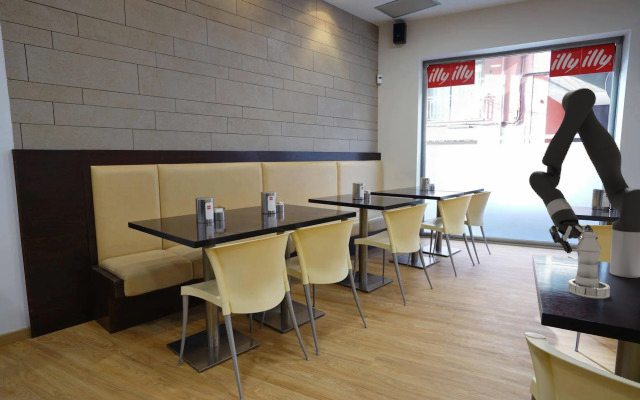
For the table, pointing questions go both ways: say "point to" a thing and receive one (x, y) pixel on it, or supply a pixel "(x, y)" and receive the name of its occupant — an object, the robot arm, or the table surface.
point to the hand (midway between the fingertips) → (582, 252)
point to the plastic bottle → (588, 260)
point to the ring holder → (589, 290)
